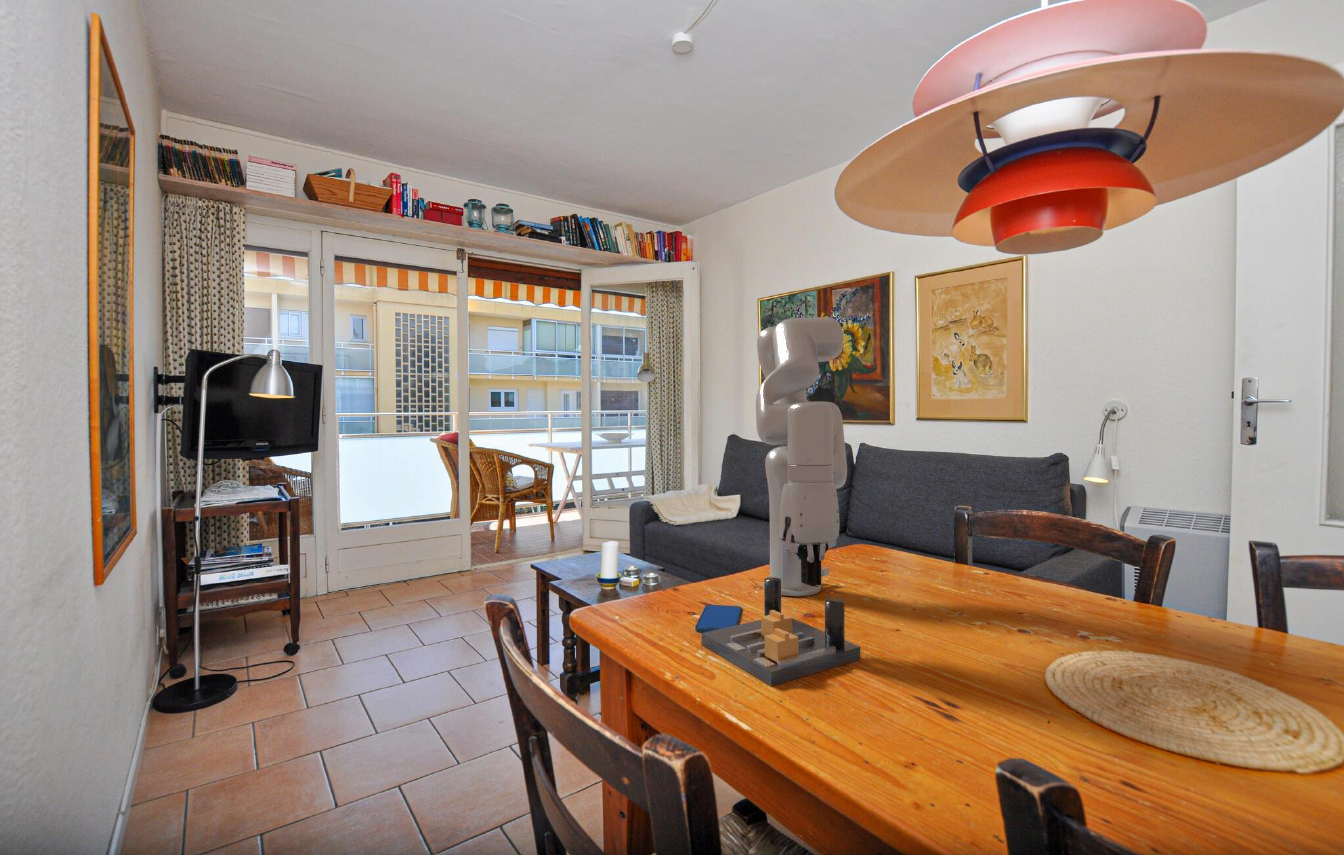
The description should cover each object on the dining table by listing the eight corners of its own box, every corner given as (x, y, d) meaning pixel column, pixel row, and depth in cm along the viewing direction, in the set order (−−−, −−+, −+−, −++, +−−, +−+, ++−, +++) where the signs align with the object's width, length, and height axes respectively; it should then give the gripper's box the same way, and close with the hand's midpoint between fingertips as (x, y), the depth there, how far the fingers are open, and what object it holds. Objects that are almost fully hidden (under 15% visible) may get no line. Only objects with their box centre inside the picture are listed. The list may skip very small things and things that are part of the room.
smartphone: (742, 606, 120) (735, 630, 105) (742, 611, 120) (735, 636, 105) (705, 604, 121) (694, 628, 107) (705, 609, 121) (694, 633, 107)
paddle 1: (780, 630, 101) (779, 607, 101) (792, 635, 98) (792, 612, 98) (761, 634, 99) (761, 611, 99) (773, 640, 96) (773, 617, 96)
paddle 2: (785, 650, 92) (784, 625, 92) (798, 656, 90) (798, 631, 89) (764, 655, 90) (764, 630, 90) (777, 662, 88) (777, 636, 87)
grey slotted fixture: (780, 623, 110) (780, 575, 110) (860, 659, 94) (860, 602, 94) (698, 643, 101) (697, 590, 101) (771, 686, 85) (770, 623, 85)
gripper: (826, 472, 109) (827, 574, 108) (761, 475, 101) (762, 585, 101) (858, 475, 102) (859, 583, 102) (791, 478, 94) (792, 595, 94)
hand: (811, 583), depth 101 cm, fingers closed
